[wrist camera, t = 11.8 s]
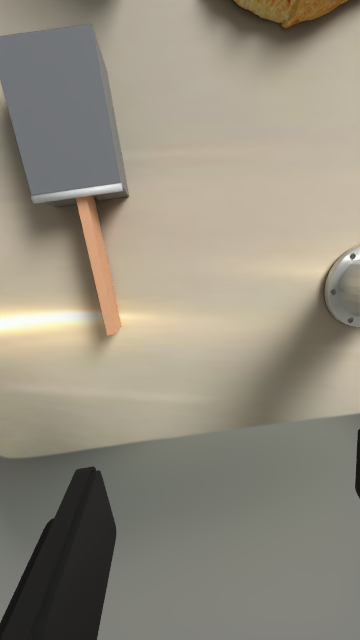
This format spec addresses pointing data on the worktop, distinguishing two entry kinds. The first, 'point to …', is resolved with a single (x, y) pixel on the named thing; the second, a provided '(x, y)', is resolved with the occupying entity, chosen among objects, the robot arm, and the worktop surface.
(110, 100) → the grey rectangular block
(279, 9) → the croissant
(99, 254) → the wooden craft stick
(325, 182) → the worktop surface
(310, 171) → the worktop surface
